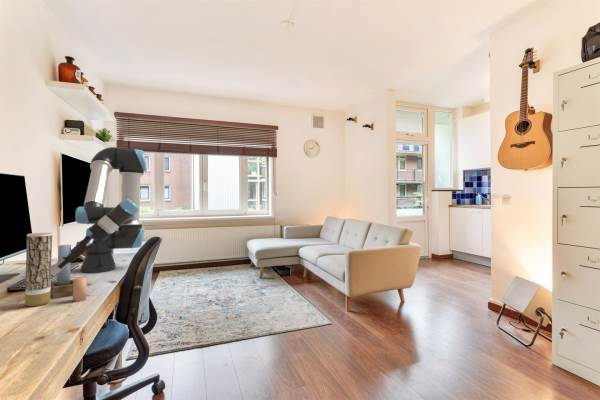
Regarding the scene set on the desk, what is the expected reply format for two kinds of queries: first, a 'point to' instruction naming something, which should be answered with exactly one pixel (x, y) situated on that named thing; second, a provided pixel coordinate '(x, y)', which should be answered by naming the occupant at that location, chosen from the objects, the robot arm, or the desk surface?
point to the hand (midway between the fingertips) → (51, 272)
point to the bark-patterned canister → (38, 269)
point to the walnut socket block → (61, 290)
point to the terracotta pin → (79, 289)
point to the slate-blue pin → (64, 274)
